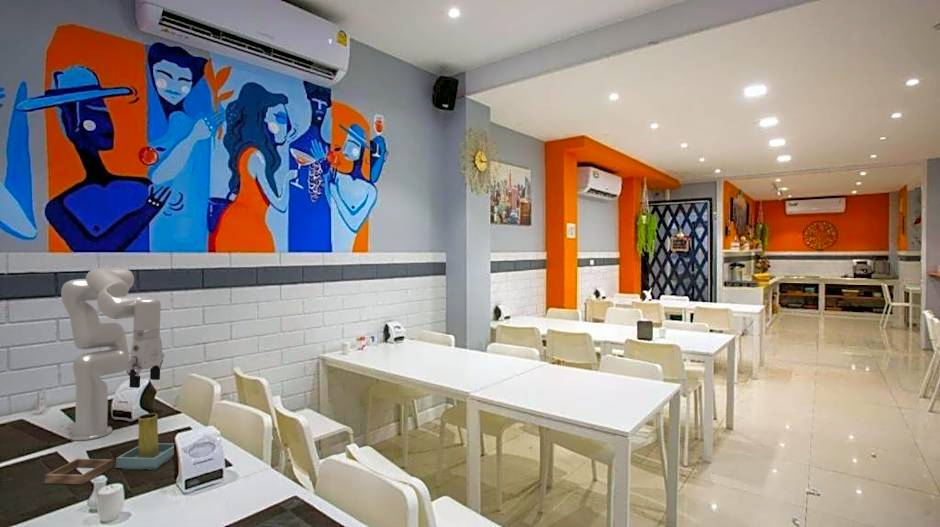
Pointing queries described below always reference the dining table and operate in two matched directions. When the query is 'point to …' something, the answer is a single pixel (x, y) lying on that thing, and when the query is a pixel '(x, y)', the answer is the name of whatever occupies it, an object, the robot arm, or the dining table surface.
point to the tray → (133, 462)
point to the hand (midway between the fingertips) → (145, 383)
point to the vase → (148, 436)
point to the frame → (63, 478)
